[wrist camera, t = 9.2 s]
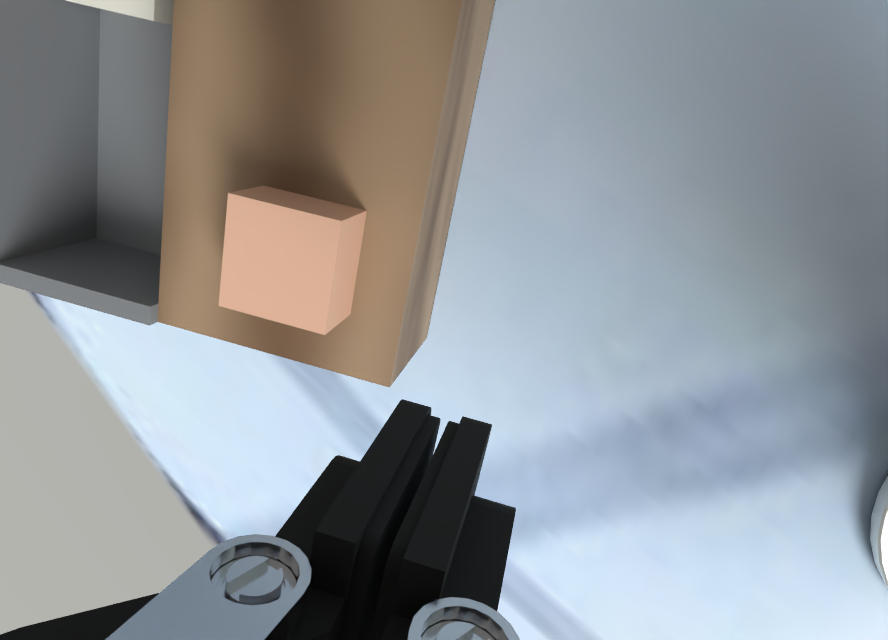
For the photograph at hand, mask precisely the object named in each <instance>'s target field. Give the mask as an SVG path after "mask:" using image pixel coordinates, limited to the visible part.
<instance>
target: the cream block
mask: <svg viewBox="0 0 888 640" xmlns="http://www.w3.org/2000/svg"><path fill="white" fill-rule="evenodd" d="M65 1H69V2H74V3H78V4H82V5H87V6H91V7H95V8H100V9H104V10H108V11H113V12H117V13H121V14H126V15H130V16H134V17H138V18H143V19H147V20H151V21H156V22H160V23H165V24H170V25H173V10H174V0H65Z"/></svg>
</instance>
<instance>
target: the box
mask: <svg viewBox="0 0 888 640" xmlns="http://www.w3.org/2000/svg"><path fill="white" fill-rule="evenodd" d="M172 30H173V25H170V24H165V23H160V22H156V21H151V20H147V19H143V18H138V17H134V16H130V15H126V14H121V13H117V12H113V11H108V10H104V9H100V8H95V7H91V6H87V5H82V4H78V3H74V2H69V1H65V0H0V283H2V284H6V285H10V286H13V287H17V288H20V289H23V290H27V291H31V292H34V293H38V294H41V295H45V296H48V297H52V298H55V299H59V300H62V301H66V302H69V303H73V304H76V305H80V306H83V307H87V308H90V309H94V310H97V311H101V312H104V313H108V314H111V315H115V316H118V317H122V318H126V319H129V320H133V321H136V322H140V323H143V324H147V325H152V324H154V323H156V322H158V302H159V283H160V263H161V244H162V224H163V205H164V185H165V166H166V146H167V127H168V107H169V88H170V68H171V49H172Z"/></svg>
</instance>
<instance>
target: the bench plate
mask: <svg viewBox="0 0 888 640" xmlns="http://www.w3.org/2000/svg"><path fill="white" fill-rule="evenodd" d="M494 4H495V0H174V10H173V30H172V49H171V68H170V88H169V107H168V127H167V146H166V166H165V185H164V205H163V224H162V244H161V263H160V283H159V302H158V322H160V323H164V324H167V325H171V326H175V327H178V328H182V329H185V330H189V331H192V332H196V333H199V334H203V335H206V336H210V337H213V338H217V339H220V340H224V341H228V342H231V343H235V344H238V345H242V346H245V347H249V348H252V349H256V350H259V351H263V352H266V353H270V354H274V355H277V356H281V357H284V358H288V359H291V360H295V361H298V362H302V363H305V364H309V365H312V366H316V367H319V368H323V369H327V370H330V371H334V372H337V373H341V374H344V375H348V376H351V377H355V378H358V379H362V380H365V381H369V382H373V383H376V384H380V385H383V386H387V387H390V386H391V385H392V383H393V382H394V381H395V379H396V378H397V377H398V375H399V374H400V373H401V371H402V370H403V369H404V367H405V366H406V365H407V363H408V362H409V361H410V359H411V358H412V357H413V355H414V354H415V353H416V351H417V350H418V349H419V347H420V346H421V345H422V343H423V342H424V341H425V339H426V338H427V333H428V328H429V324H430V319H431V314H432V309H433V304H434V299H435V294H436V289H437V284H438V279H439V274H440V269H441V265H442V260H443V255H444V250H445V245H446V240H447V235H448V230H449V225H450V220H451V215H452V211H453V206H454V201H455V196H456V191H457V186H458V181H459V176H460V171H461V166H462V161H463V156H464V152H465V147H466V142H467V137H468V132H469V127H470V122H471V117H472V112H473V107H474V102H475V97H476V93H477V88H478V83H479V78H480V73H481V68H482V63H483V58H484V53H485V48H486V43H487V39H488V34H489V29H490V24H491V19H492V14H493V9H494ZM259 186H268V187H272V188H276V189H280V190H284V191H288V192H293V193H297V194H301V195H305V196H309V197H313V198H317V199H321V200H325V201H329V202H334V203H338V204H342V205H346V206H350V207H354V208H358V209H362V210H366V211H367V213H366V219H365V225H364V232H363V238H362V244H361V251H360V257H359V263H358V270H357V276H356V282H355V289H354V295H353V301H352V308H351V314H350V315H349V316H348V317H347V318H345V319H344V320H343V321H342V322H340V323H339V324H338V325H337V326H335V327H334V328H333V329H332V330H331V331H329V332H328V333H327V334H326V335H323V334H319V333H315V332H312V331H308V330H305V329H301V328H297V327H294V326H290V325H286V324H283V323H279V322H275V321H272V320H268V319H264V318H261V317H257V316H254V315H250V314H246V313H243V312H239V311H235V310H232V309H228V308H224V307H221V306H219V294H220V282H221V271H222V259H223V247H224V235H225V223H226V212H227V200H228V193H231V192H235V191H240V190H245V189H250V188H254V187H259Z"/></svg>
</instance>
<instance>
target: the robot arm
mask: <svg viewBox="0 0 888 640" xmlns="http://www.w3.org/2000/svg"><path fill="white" fill-rule="evenodd" d="M439 425H440V418H437V417H434V416H431V407H428V406H424V405H421V404H417V403H413V402H410V401H406V400H403V399H402V400H401V401H400V402H399V404H398V405H397V407H396V408H395V410H394V411H393V413H392V414H391V416H390V417H389V419H388V420H387V422H386V423H385V425H384V426H383V428H382V429H381V431H380V432H379V434H378V436H377V437H376V439H375V440H374V442H373V443H372V445H371V446H370V448H369V449H368V451H367V452H366V454H365V455H364V457H363V458H362V460H361V461H360V462H359V461H356V460H353V459H349V458H346V457H343V456H339V455H338V456H335V458H334V459H333V460H332V461H331V462H330V463H329V465H328V466H327V467H326V469H325V470H324V472H323V473H322V474H321V476H320V477H319V478H318V480H317V481H316V482H315V484H314V485H313V486H312V488H311V489H310V490H309V492H308V493H307V494H306V496H305V497H304V498H303V500H302V501H301V502H300V504H299V505H298V506H297V508H296V509H295V511H294V512H293V513H292V515H291V516H290V517H289V519H288V520H287V521H286V523H285V524H284V525H283V527H282V528H281V529H280V531H279V532H278V533H277V535H276V536H275V537H274V536H269V535H257V534H254V535H246V536H238V537H235V538H233V539H230V540H227V541H224V542H222V543H220V544H219V545H217V546H216V547H214V548H213V549H211V550H210V551H208V552H207V553H206V554H205V555H204V556H203V557H202V558H200V559H199V560H198V561H197V562H196V563H194V564H193V565H192V566H191V567H190V568H189V569H187V570H186V571H185V572H184V573H183V574H182V575H180V576H179V577H178V578H177V579H176V580H175V581H174V582H172V583H171V584H170V585H169V586H167V587H166V588H165V589H164V590H163V591H162V592H160V593H157V594H153V595H149V596H145V597H141V598H137V599H133V600H129V601H125V602H121V603H117V604H113V605H109V606H105V607H101V608H97V609H94V610H90V611H85V612H81V613H77V614H74V615H69V616H65V617H61V618H57V619H53V620H49V621H46V622H41V623H37V624H33V625H29V626H25V627H22V628H18V629H16V630H13V631H10V632H7V633H4V634H1V635H0V640H520V639H519V637H518V635H517V634H516V632H515V630H514V629H513V627H512V625H511V624H510V623H509V622H508V621H507V620H506V619H505V618H504V617H503V616H502V615H501V614H500V613H499V612H497V609H498V604H499V598H500V593H501V587H502V582H503V577H504V571H505V566H506V560H507V555H508V550H509V544H510V539H511V533H512V528H513V522H514V517H515V511H516V508H514V507H510V506H507V505H504V504H500V503H497V502H493V501H490V500H487V499H483V498H480V497H477V496H474V495H475V491H476V487H477V483H478V479H479V475H480V471H481V467H482V463H483V459H484V455H485V451H486V447H487V443H488V439H489V435H490V431H491V427H492V425H491V424H488V423H484V422H481V421H477V420H474V419H470V418H467V417H462V419H461V421H460V424H458V423H455V422H451V421H449V422H448V424H447V426H446V428H445V430H444V433H443V435H442V437H441V439H440V441H439V444H438V446H437V448H436V450H435V452H434V448H435V443H436V439H437V434H438V430H439ZM433 452H434V454H433ZM870 541H871V546H872V551H873V556H874V562H875V564H876V566H877V568H878V570H879V572H880V575H881V577H882V579H883V581H884V583H885V585H886V586H887V588H888V476H887V478H886V479H885V481H884V483H883V485H882V486H881V488H880V490H879V492H878V495H877V499H876V502H875V505H874V508H873V512H872V515H871V532H870Z"/></svg>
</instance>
